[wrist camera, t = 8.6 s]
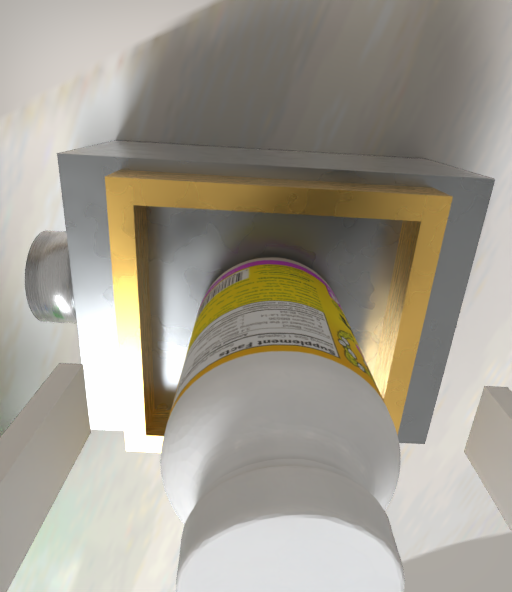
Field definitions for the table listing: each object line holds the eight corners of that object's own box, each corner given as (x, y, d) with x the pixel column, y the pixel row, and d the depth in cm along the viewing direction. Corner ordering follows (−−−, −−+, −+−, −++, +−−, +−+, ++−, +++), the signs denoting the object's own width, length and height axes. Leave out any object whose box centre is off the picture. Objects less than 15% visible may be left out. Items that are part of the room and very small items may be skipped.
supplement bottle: (328, 383, 22) (413, 699, 10) (196, 374, 22) (128, 686, 10) (350, 257, 19) (500, 486, 8) (201, 245, 19) (117, 462, 7)
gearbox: (425, 158, 25) (522, 186, 16) (384, 364, 31) (439, 472, 22) (62, 137, 25) (-50, 153, 16) (86, 350, 30) (12, 454, 21)
